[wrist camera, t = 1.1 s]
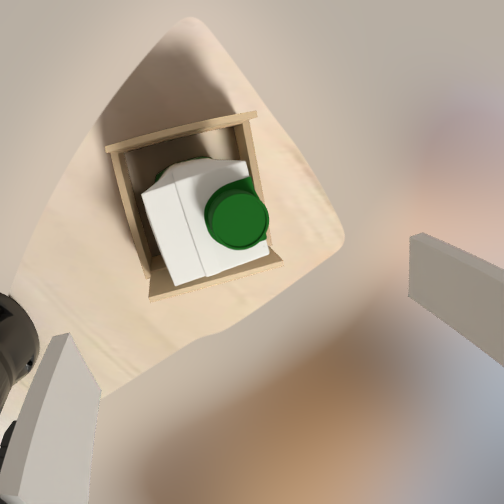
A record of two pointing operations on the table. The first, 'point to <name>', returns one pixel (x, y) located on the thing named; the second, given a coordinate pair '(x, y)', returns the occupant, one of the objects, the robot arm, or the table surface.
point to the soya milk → (206, 217)
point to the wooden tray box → (151, 265)
